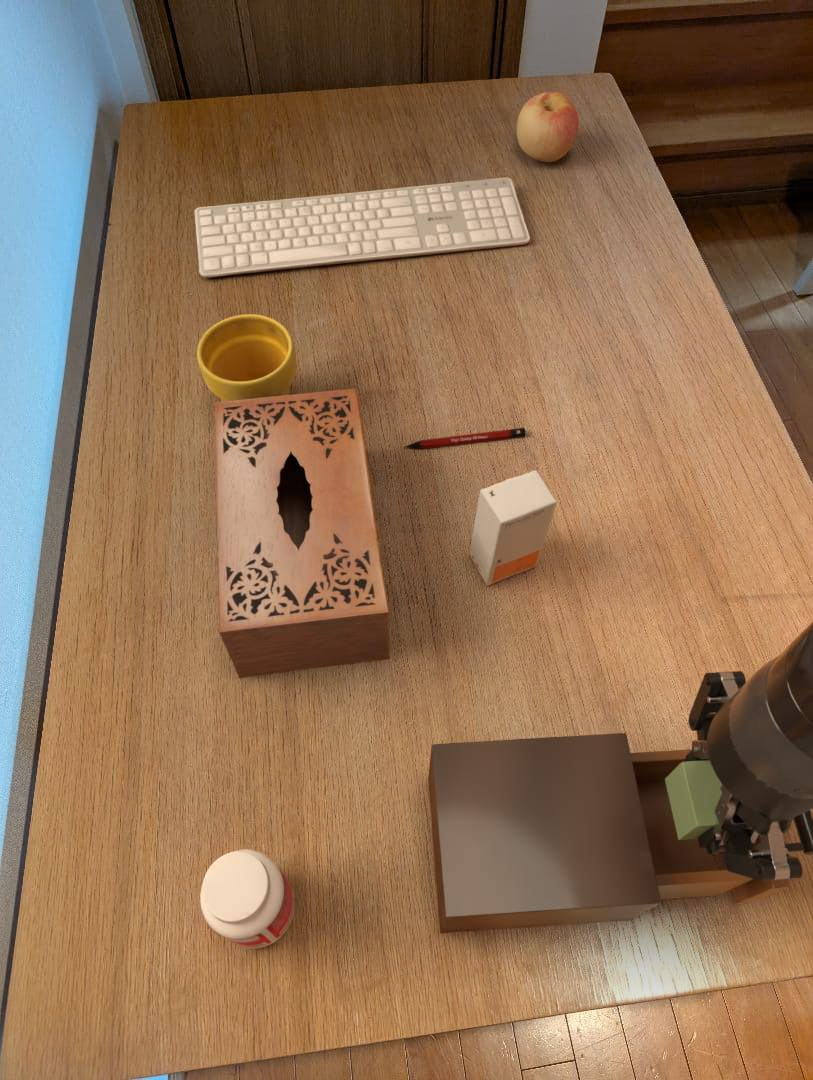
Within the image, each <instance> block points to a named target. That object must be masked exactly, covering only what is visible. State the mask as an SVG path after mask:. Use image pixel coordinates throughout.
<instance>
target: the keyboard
mask: <svg viewBox="0 0 813 1080" xmlns="http://www.w3.org/2000/svg"><path fill="white" fill-rule="evenodd" d="M194 221H195V223H194V224H195V234H196V235H195V237H196V243H197V244H196V247H197V259H198V272H199V273H198V274H199V276H201V277H202V278H204V279H205V278H217V277H225V276H233V275H235V276H236V275H243V274H244V275H245V274H252V273H262V272H271V271H279V270H290V269H299V268H300V269H301V268H308V267H310V268H311V267H318V266H327V265H336V264H337V265H338V264H346V263H347V264H348V263H358V262H366V261H376V260H387V259H396V258H407V257H415V256H417V257H418V256H426V255H435V254H446V253H454V252H455V253H456V252H464V251H466V252H467V251H474V250H475V251H476V250H485V249H486V250H487V249H493V248H494V249H495V248H503V247H513V246H523V245H524V246H525V245H527V244H529V242H530V240H531V235H530V233H529V230H528V227H527V224H526V221H525V218H524V214H523V211H522V208H521V205H520V202H519V199H518V195H517V192H516V188H515V184H514V181H513V180H512V178H510V177H498V178H489V179H479V180H469V181H468V180H467V181H457V182H449V183H437V184H427V185H426V184H425V185H416V186H407V187H399V188H397V187H396V188H388V189H387V188H385V189H377V190H369V191H368V190H367V191H356V192H348V193H336V194H327V195H315V196H305V197H295V198H285V199H284V198H283V199H276V200H275V199H274V200H263V201H262V200H261V201H253V202H242V203H231V204H221V205H211V206H199V207H197V208H195V209H194Z"/></svg>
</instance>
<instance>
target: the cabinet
mask: <svg viewBox="0 0 813 1080" xmlns="http://www.w3.org/2000/svg"><path fill="white" fill-rule="evenodd" d="M629 745H630V744H629V740H628V735H627V733H626V732H617V733H600V734H584V735H568V736H567V735H566V736H551V737H549V736H547V737H536V738H535V737H534V738H517V739H516V738H515V739H498V740H481V741H466V742H464V741H463V742H450V743H449V742H447V743H433V744H431V749H430V758H429V767H428V774H427V775H428V777H427V780H428V781H427V782H428V794H429V806H430V809H429V810H430V819H431V820H430V821H431V834H432V835H431V836H432V847H433V861H434V874H435V888H436V900H437V901H436V902H437V911H438V913H437V914H438V926H439V934H451V933H467V932H479V931H481V932H482V931H496V930H508V929H509V930H510V929H511V930H512V929H524V928H541V927H553V926H554V927H555V926H567V925H583V924H597V923H599V924H601V923H611V922H612V923H613V922H626V921H627V922H628V921H631V920H633V919H635V918H636V917H638V916H641V915H642V914H644V913H645V912H647V911H650V910H651V909H653V908H655V907H657V906H659V905H661V904H662V899H661V898H660V893H659V888H658V883H657V879H656V874H655V869H654V864H653V859H652V855H651V850H650V845H649V840H648V835H647V831H646V826H645V821H644V816H643V811H642V807H641V802H640V797H639V792H638V787H637V783H636V778H635V773H634V768H633V764H632V759H631V754H630V753H631V750H630V749H631V748H630V746H629Z"/></svg>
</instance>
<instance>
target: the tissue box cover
mask: <svg viewBox="0 0 813 1080" xmlns="http://www.w3.org/2000/svg"><path fill="white" fill-rule="evenodd" d="M362 422H363V421H362V415H361V407H360V399H359V393H358V388H357V387H355V388H346V389H345V388H343V389H334V390H326V391H325V390H324V391H315V392H305V393H295V394H289V395H283V396H273V397H263V398H253V399H243V400H233V401H215V402H214V431H215V432H214V434H215V435H214V438H215V439H214V440H215V481H216V482H215V486H216V492H215V493H216V530H217V531H216V533H217V535H216V537H217V538H216V539H217V540H216V541H217V582H218V584H217V586H218V587H217V588H218V626H219V627H218V632H219V635H220V637H221V640H222V642H223V644H224V646H225V649H226V651H227V654H228V655H229V658H230V660H231V663H232V665H233V667H234V669H235V671H236V674H237V676H238V678H246V677H254V676H262V675H263V676H264V675H272V674H279V673H286V672H293V671H302V670H309V669H311V670H312V669H319V668H326V667H335V666H341V665H343V666H344V665H350V664H358V663H367V662H374V661H383V660H390V659H391V658H390V621H389V620H390V619H389V617H390V616H389V615H390V614H389V606H388V599H387V593H386V585H385V578H384V571H383V563H382V557H381V550H380V541H379V536H378V535H379V534H378V529H377V528H378V527H377V521H376V515H375V508H374V500H373V494H372V486H371V485H372V484H371V479H370V473H369V472H370V471H369V464H368V458H367V450H366V443H365V437H364V429H363V423H362Z"/></svg>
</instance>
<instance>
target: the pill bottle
mask: <svg viewBox="0 0 813 1080" xmlns="http://www.w3.org/2000/svg"><path fill="white" fill-rule="evenodd" d="M202 881H203V882H202V884H201V888H200V897H199V901H200V908H201V913H202V915H203V917H204V920H205V921H206V923H207V924H208V926H209V927H210V928H211V929H212V930H214V932H216V933H217V934H218V935H220V936H222V937H224V938H225V939H227V940H228V941H231V942H232V943H234V944H236V945H237V946H240V947H242V948H245V949H261V948H266V947H268V946H270V945H272V944H274V943H275V942H277V941H278V940H279V939H280V938H282V936H283V935H284V934H285V933H286V932H287V931H288V930H289V927H290V926H291V923H292V921H293V918H294V915H295V909H296V907H295V906H296V898H295V893H294V890H293V888H292V885H291V883H290V882H289V879H287V877H286V876H285V874H284V873H283V872H282V870H281V869H280V868H279V866H278V864H276V862H275V861H274V860H273V859H272V858H270V857H269V856H268V855H266V854H265V853H263V852H261V851H258V850H254V849H247V848H246V849H244V848H243V849H237V850H234V851H231V852H228V853H225V854H223V855H221V856H220V857H218V858H217V859H216V860H215V861H213V862H212V864H211V865H210V866H209V868H208V869H207V871H206V873H205V875H204V877H203V880H202Z"/></svg>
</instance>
